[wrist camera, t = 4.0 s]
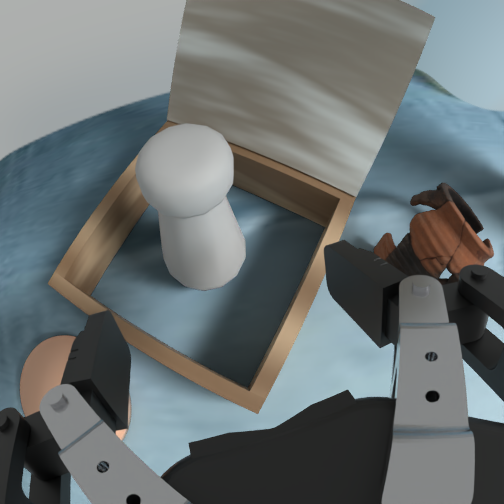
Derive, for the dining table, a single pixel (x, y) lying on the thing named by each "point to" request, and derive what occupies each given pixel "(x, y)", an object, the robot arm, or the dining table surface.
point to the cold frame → (269, 138)
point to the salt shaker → (193, 204)
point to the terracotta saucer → (48, 374)
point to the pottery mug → (438, 238)
